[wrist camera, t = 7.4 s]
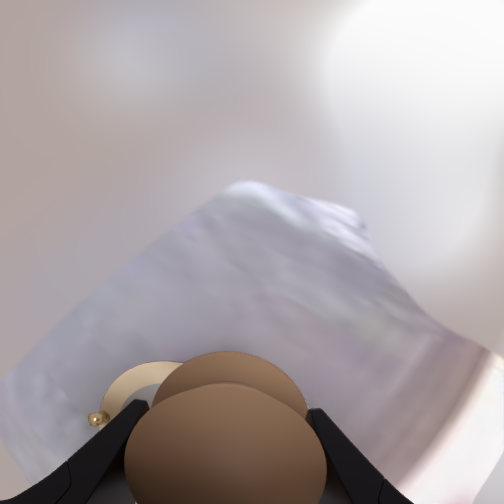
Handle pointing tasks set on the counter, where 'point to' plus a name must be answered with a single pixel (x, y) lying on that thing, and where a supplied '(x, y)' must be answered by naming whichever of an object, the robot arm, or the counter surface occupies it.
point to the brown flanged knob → (226, 437)
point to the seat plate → (132, 389)
